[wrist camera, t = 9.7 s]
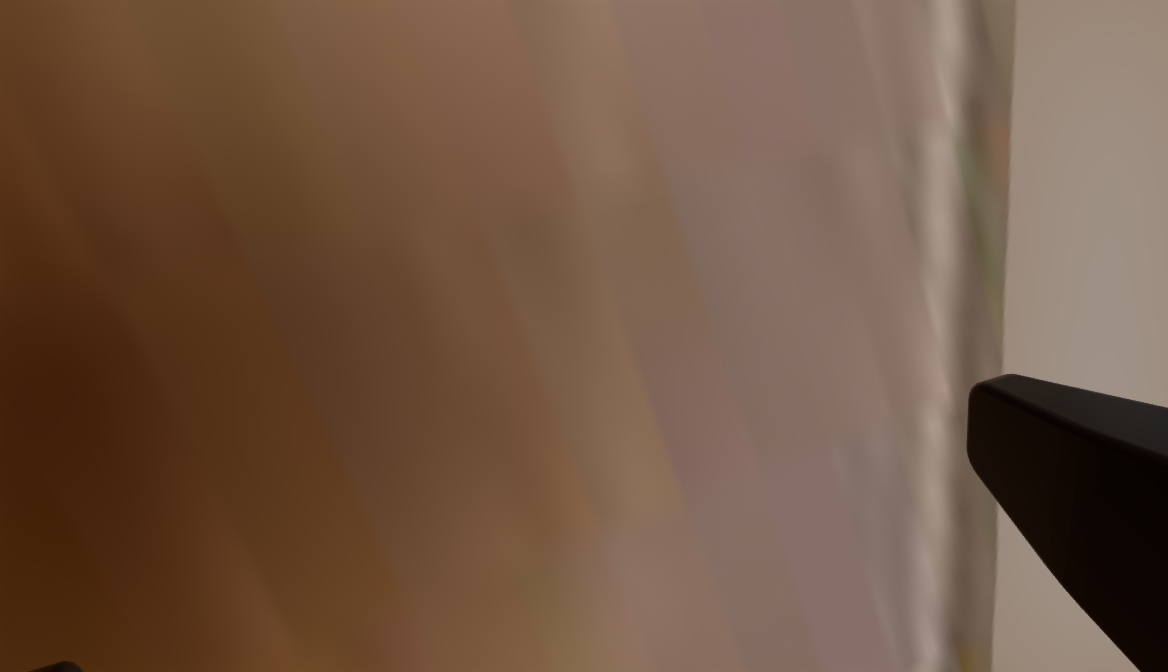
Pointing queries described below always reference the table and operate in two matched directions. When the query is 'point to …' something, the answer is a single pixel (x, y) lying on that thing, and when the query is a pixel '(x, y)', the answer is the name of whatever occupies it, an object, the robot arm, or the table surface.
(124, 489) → the table surface
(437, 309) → the table surface
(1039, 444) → the robot arm
